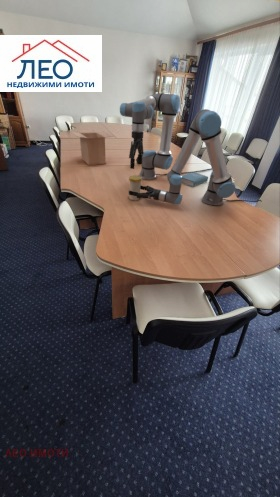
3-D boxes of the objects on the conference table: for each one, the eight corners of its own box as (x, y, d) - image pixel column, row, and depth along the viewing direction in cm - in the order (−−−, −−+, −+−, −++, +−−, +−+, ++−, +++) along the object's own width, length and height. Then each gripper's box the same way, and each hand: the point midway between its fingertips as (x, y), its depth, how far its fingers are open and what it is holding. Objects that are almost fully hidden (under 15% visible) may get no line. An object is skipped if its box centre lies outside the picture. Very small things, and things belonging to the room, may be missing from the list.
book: (192, 177, 214) (193, 171, 211) (207, 182, 205) (208, 176, 202) (178, 181, 200) (179, 176, 197) (193, 187, 192) (194, 181, 189)
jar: (127, 199, 164) (128, 179, 155) (130, 195, 170) (131, 175, 161) (138, 201, 162) (139, 180, 153) (141, 196, 169) (142, 177, 160)
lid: (127, 181, 155) (127, 178, 154) (130, 177, 163) (131, 174, 161) (139, 183, 154) (139, 180, 153) (142, 179, 161) (142, 176, 160)
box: (116, 165, 229) (116, 136, 213) (83, 168, 214) (80, 137, 198) (102, 154, 259) (101, 128, 243) (71, 156, 244) (68, 129, 228)
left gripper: (139, 128, 150) (137, 161, 162) (124, 132, 132) (123, 169, 144) (149, 129, 147) (147, 163, 160) (135, 134, 129) (133, 171, 142)
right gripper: (153, 207, 149) (125, 200, 155) (164, 194, 168) (139, 188, 174) (154, 196, 145) (125, 190, 151) (166, 184, 164) (139, 179, 169)
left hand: (135, 166), depth 152 cm, fingers open, 11 cm apart
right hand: (132, 189), depth 162 cm, fingers open, 13 cm apart
